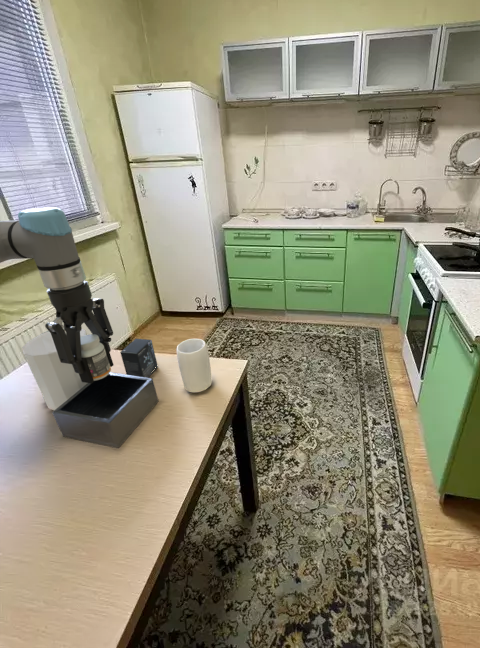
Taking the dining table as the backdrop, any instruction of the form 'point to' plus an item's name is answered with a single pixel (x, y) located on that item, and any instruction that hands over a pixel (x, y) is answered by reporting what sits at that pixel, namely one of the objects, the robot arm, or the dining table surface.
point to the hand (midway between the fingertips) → (98, 373)
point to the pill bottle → (95, 356)
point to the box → (139, 358)
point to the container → (51, 370)
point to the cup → (194, 365)
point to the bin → (107, 409)
